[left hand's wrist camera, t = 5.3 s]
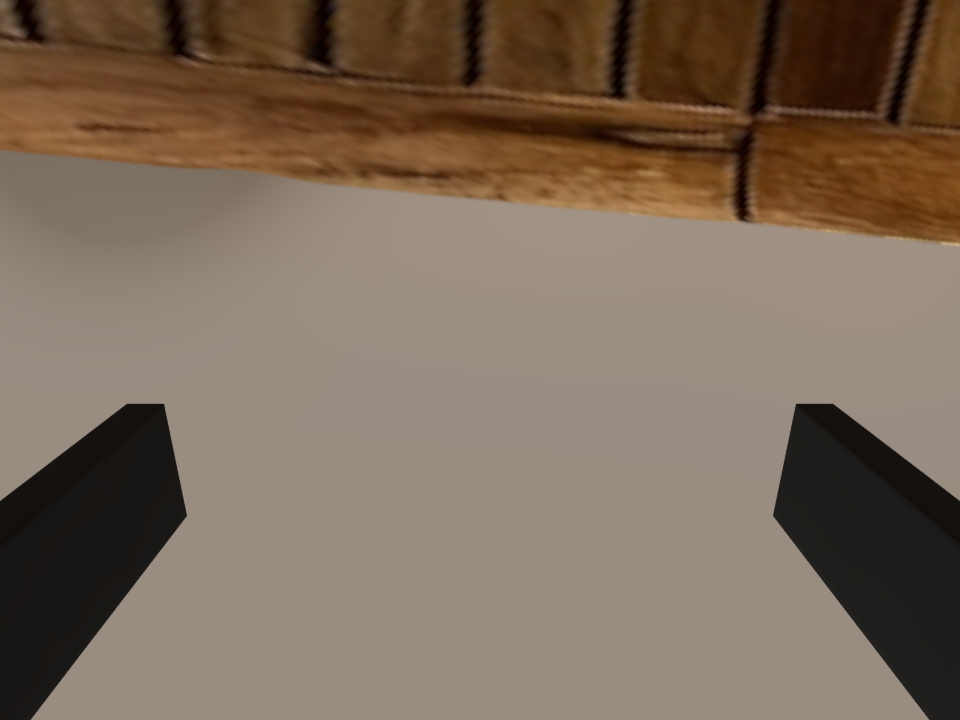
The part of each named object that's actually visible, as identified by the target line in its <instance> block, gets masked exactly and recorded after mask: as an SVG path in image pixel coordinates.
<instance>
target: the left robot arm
mask: <svg viewBox="0 0 960 720" xmlns="http://www.w3.org/2000/svg"><path fill="white" fill-rule="evenodd" d="M186 516H187V514H186V509H185V504H184V499H183V494H182V489H181V484H180V480H179V475H178V470H177V465H176V460H175V455H174V451H173V446H172V441H171V436H170V431H169V426H168V421H167V417H166V412H165V407H164V404H126V405H125V406H124V407H122V408H121V409H120V410H118V411H117V412H116V413H114V414H113V415H112V416H111V417H109V418H108V419H107V420H105V421H104V422H103V423H101V424H100V425H99V426H98V427H96V428H95V429H94V430H92V431H91V432H90V433H88V434H87V435H86V436H84V437H83V438H82V439H81V440H79V441H78V442H77V443H75V444H74V445H73V446H71V447H70V448H69V449H68V450H66V451H65V452H64V453H62V454H61V455H60V456H58V457H57V458H56V459H54V460H53V461H52V462H50V463H49V464H48V465H47V466H45V467H44V468H43V469H41V470H40V471H39V472H37V473H36V474H35V475H34V476H32V477H31V478H30V479H28V480H27V481H26V482H24V483H23V484H22V485H21V486H19V487H18V488H17V489H15V490H14V491H13V492H11V493H10V494H9V495H7V496H6V497H5V498H3V499H2V500H1V501H0V720H31V719H32V717H33V716H34V715H35V713H36V712H37V711H38V709H39V708H40V707H41V705H42V704H43V703H44V702H45V700H46V699H47V698H48V696H49V695H50V694H51V692H52V691H53V690H54V689H55V687H56V686H57V685H58V683H59V682H60V681H61V679H62V678H63V677H64V676H65V674H66V673H67V672H68V670H69V669H70V668H71V666H72V665H73V664H74V662H75V661H76V660H77V659H78V657H79V656H80V655H81V653H82V652H83V651H84V649H85V648H86V647H87V645H88V644H89V643H90V642H91V640H92V639H93V638H94V636H95V635H96V634H97V632H98V631H99V630H100V629H101V627H102V626H103V625H104V623H105V622H106V621H107V619H108V618H109V617H110V616H111V614H112V613H113V612H114V610H115V609H116V608H117V606H118V605H119V604H120V602H121V601H122V600H123V598H124V597H125V596H126V595H127V593H128V592H129V591H130V589H131V588H132V587H133V585H134V584H135V583H136V582H137V580H138V579H139V578H140V576H141V575H142V574H143V572H144V571H145V570H146V569H147V567H148V566H149V565H150V563H151V562H152V561H153V559H154V558H155V557H156V556H157V554H158V553H159V552H160V550H161V549H162V548H163V546H164V545H165V544H166V542H167V541H168V540H169V539H170V537H171V536H172V535H173V533H174V532H175V531H176V529H177V528H178V527H179V526H180V524H181V523H182V522H183V520H184V519H185V518H186ZM773 516H774V518H775V519H776V520H777V521H778V523H779V524H780V526H781V527H782V528H783V529H784V531H785V532H786V533H787V535H788V536H789V537H790V539H791V540H792V541H793V542H794V544H795V545H796V546H797V548H798V549H799V550H800V552H801V553H802V554H803V555H804V557H805V558H806V559H807V561H808V562H809V563H810V565H811V566H812V567H813V569H814V570H815V571H816V572H817V574H818V575H819V576H820V578H821V579H822V580H823V582H824V583H825V584H826V586H827V587H828V588H829V589H830V591H831V592H832V593H833V595H834V596H835V597H836V599H837V600H838V601H839V602H840V604H841V605H842V606H843V608H844V609H845V610H846V612H847V613H848V614H849V616H850V617H851V618H852V619H853V621H854V622H855V623H856V625H857V626H858V627H859V629H860V630H861V631H862V632H863V634H864V635H865V636H866V638H867V639H868V640H869V642H870V643H871V644H872V645H873V647H874V648H875V649H876V651H877V652H878V653H879V655H880V656H881V657H882V658H883V660H884V661H885V662H886V664H887V665H888V666H889V668H890V669H891V670H892V672H893V673H894V674H895V676H896V677H897V678H898V679H899V681H900V682H901V683H902V685H903V686H904V687H905V689H906V690H907V691H908V692H909V694H910V695H911V696H912V698H913V699H914V700H915V702H916V703H917V704H918V706H919V707H920V708H921V709H922V711H923V712H924V713H925V715H926V716H927V717H928V719H929V720H960V501H959V500H958V499H957V498H955V497H954V496H953V495H951V494H950V493H949V492H947V491H946V490H945V489H943V488H942V487H941V486H940V485H938V484H937V483H936V482H934V481H933V480H932V479H930V478H929V477H928V476H926V475H925V474H924V473H923V472H921V471H920V470H919V469H917V468H916V467H915V466H913V465H912V464H911V463H910V462H908V461H907V460H906V459H904V458H903V457H902V456H900V455H899V454H898V453H896V452H895V451H894V450H893V449H891V448H890V447H889V446H887V445H886V444H885V443H883V442H882V441H881V440H880V439H878V438H877V437H875V436H874V435H873V434H872V433H870V432H869V431H868V430H866V429H865V428H864V427H863V426H861V425H860V424H859V423H857V422H856V421H855V420H853V419H852V418H851V417H849V416H848V415H847V414H845V413H844V412H843V411H842V410H840V409H839V408H838V407H836V406H835V405H834V404H796V407H795V412H794V417H793V421H792V426H791V431H790V436H789V441H788V446H787V450H786V455H785V460H784V465H783V470H782V475H781V480H780V484H779V489H778V494H777V499H776V504H775V509H774V514H773Z"/></svg>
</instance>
